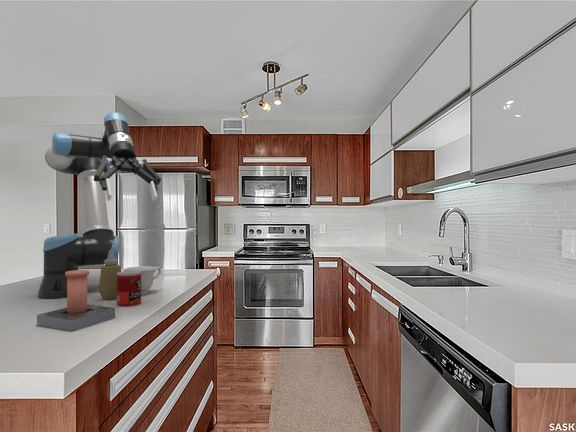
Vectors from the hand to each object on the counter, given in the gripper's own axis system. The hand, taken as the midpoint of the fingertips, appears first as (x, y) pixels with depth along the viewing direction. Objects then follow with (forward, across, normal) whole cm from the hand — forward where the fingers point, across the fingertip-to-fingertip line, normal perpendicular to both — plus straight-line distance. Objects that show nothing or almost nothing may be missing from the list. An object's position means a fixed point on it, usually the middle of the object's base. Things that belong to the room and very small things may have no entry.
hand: (133, 198), depth 114 cm
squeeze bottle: (+13, 0, +44) cm, 46 cm away
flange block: (+28, -15, +22) cm, 39 cm away
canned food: (+21, +3, +33) cm, 39 cm away
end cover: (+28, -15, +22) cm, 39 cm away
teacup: (+12, +12, +46) cm, 49 cm away
